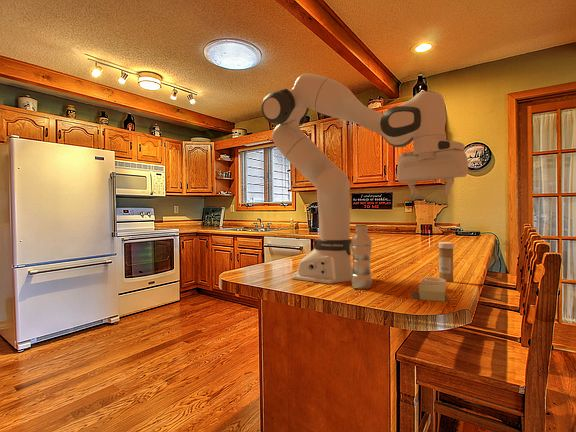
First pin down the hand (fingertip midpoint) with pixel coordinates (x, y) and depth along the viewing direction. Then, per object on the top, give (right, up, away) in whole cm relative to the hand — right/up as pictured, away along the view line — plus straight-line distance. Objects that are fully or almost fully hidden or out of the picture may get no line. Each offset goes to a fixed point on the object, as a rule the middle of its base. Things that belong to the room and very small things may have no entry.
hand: (429, 195), depth 92 cm
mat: (-3, -29, -5) cm, 30 cm away
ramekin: (+2, -29, +2) cm, 29 cm away
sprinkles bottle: (+12, -29, +14) cm, 34 cm away
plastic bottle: (-19, -29, +6) cm, 35 cm away
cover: (-2, -29, -6) cm, 29 cm away
